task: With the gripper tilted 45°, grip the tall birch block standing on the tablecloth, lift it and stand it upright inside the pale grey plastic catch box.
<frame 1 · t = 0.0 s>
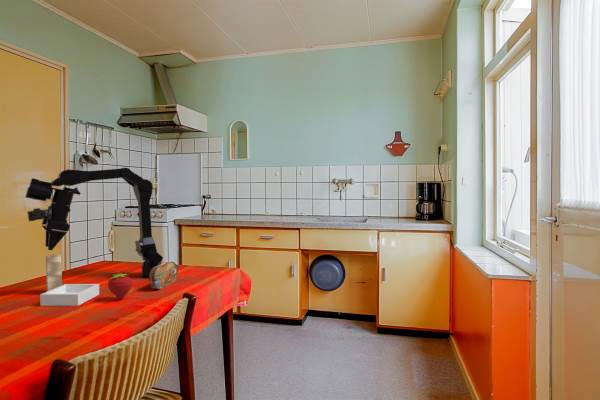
hand: (48, 248, 122), 15 cm above the table, tool pointing down, fingers open, 9 cm apart
strawberry: (120, 300, 115), on the table
catch box: (71, 299, 115), on the table
birch block: (54, 292, 123), on the table
tin: (163, 286, 131), on the table
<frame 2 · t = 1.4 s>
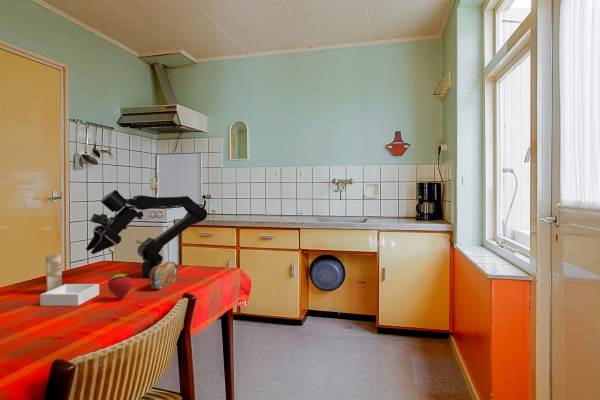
hand: (89, 251, 129), 13 cm above the table, tool tilted 45°, fingers open, 9 cm apart
nothing on the table moved.
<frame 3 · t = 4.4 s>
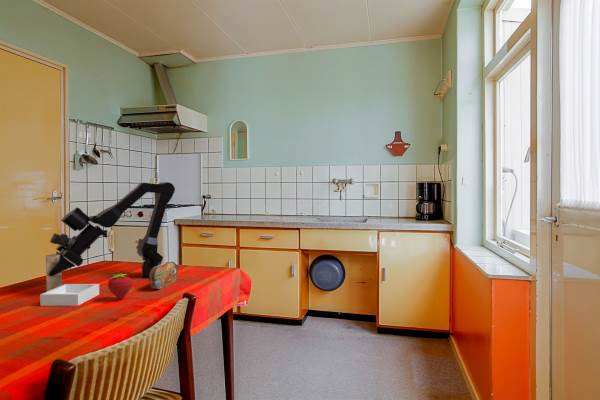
hand: (49, 274, 121), 7 cm above the table, tool tilted 45°, fingers closed on birch block, 4 cm apart
birch block: (54, 292, 123), on the table, touching gripper
everything else where it was.
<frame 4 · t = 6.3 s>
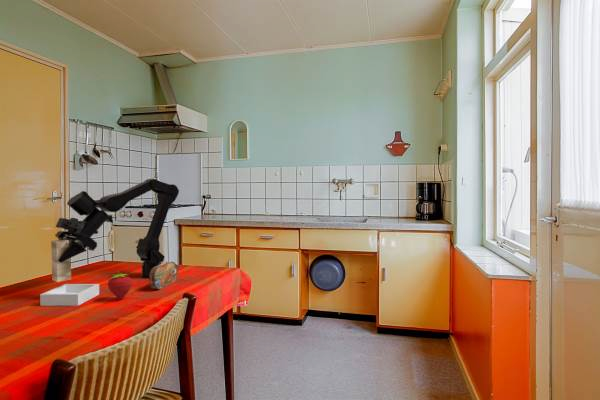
hand: (56, 260, 116), 12 cm above the table, tool tilted 45°, fingers closed on birch block, 4 cm apart
birch block: (61, 279, 117), point 6 cm above the table, touching gripper
everything else where it was.
when the fingers open (8 cm above the table, at t = 8.0 s): birch block stays where it is, resting on catch box.
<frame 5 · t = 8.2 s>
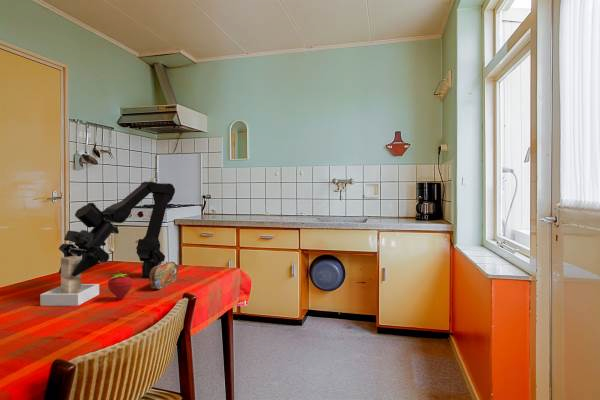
hand: (66, 274, 113), 9 cm above the table, tool tilted 45°, fingers open, 6 cm apart
birch block: (71, 297, 115), point 1 cm above the table, touching catch box
everything else where it was.
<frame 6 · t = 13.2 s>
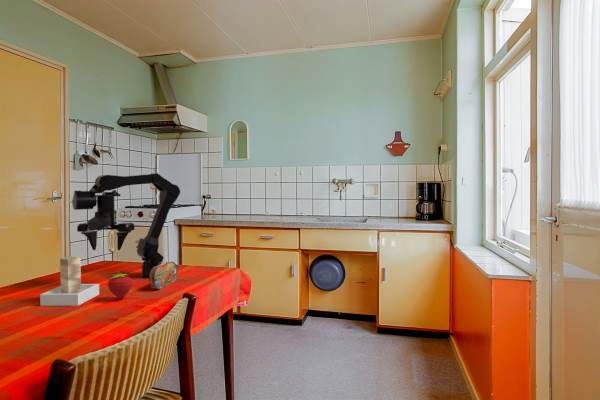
hand: (106, 250, 132), 13 cm above the table, tool pointing down, fingers open, 9 cm apart
nothing on the table moved.
at the end: birch block inside the target area on the catch box (0.0 cm from its centre), point 0.8 cm above the catch box's base; birch block tilted 0°; the gripper is holding nothing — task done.
